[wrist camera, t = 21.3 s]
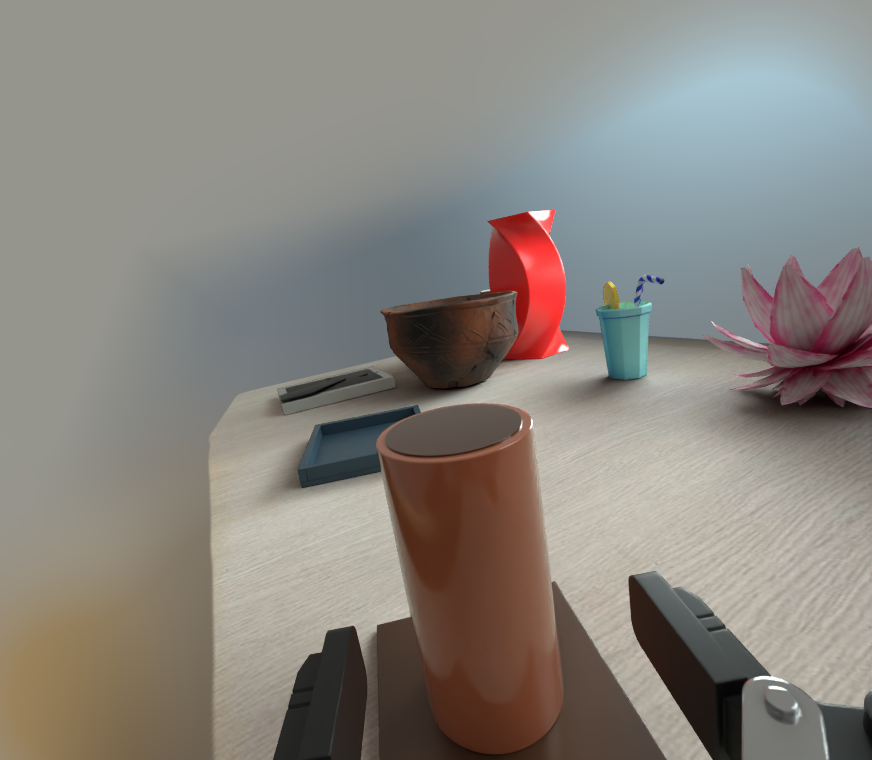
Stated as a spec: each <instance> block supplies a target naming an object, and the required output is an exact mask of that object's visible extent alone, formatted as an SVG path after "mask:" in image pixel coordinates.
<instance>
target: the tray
mask: <svg viewBox="0 0 872 760" xmlns="http://www.w3.org/2000/svg"><path fill="white" fill-rule="evenodd" d="M418 413H421V411H420V409H419V406H418V405H415V406H410V407H405V408H400V409H394V410H389V411H384V412H379V413H374V414H369V415H364V416H359V417H354V418H349V419H344V420H338V421H333V422H328V423H323V424H318V425H315V427H314V430H313V432H312V435H311V437H310V440H309V442H308V445H307V448H306V450H305V453H304V455H303V458H302V460H301V463H300V465H299V468H298V474H299V478H300V482H301V486H302V488H303V487H308V486H313V485H317V484H322V483H327V482H332V481H336V480H341V479H346V478H351V477H355V476H360V475H365V474H370V473H374V472H379V471H381V469H380V464H379V459H378V454H377V450H376V441H377V439H378V437H379V435H380V434H381V433H382V432H383V431H384V430H385V429H387V428H388V427H390V426H391V425H393V424H395V423H397V422H399V421H401V420H403V419H405V418H408V417H410V416H413V415H416V414H418Z"/></svg>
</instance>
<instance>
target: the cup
mask: <svg viewBox="0 0 872 760" xmlns="http://www.w3.org/2000/svg"><path fill="white" fill-rule="evenodd" d="M645 281H646V282H652V283H656V284H663V283H664V279H663V278H659V277H653V276H649V275H644V276H642V277H641V278H640V280H639V281H638V284H637V289H636V295H635V299H634V302H625V303H619V297H618V293H617V290H616V287H615V286H614V285H613V284H612V283H611V282H607V283H606V284H605V286H604V287H603V299H604V303H605V306H602V307H599V308H597V309H596V313H597V316H599V320H600V326H601V332H602V338H603V344H604V350H605V356H606V361H607V367H608V373H609V376H610V377H611V378H612V379H622V380H628V379H636V378H641V377H642V376H644V375H646V371H647V351H648V331H649V312H650V311H651V310H652V304H651V303H649V302H644V301H642V302H640V301H641V297H642V291H643V287H644V283H645Z"/></svg>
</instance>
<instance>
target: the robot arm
mask: <svg viewBox="0 0 872 760" xmlns="http://www.w3.org/2000/svg"><path fill="white" fill-rule="evenodd" d="M629 595H630V609H631V621H632V626H633V629H634V633H635V635H636V638H637V640H638V642H639V644H640V646H641V647H642V649H643V650H644V652H645V654H646V655H647V657H648V658H649V660H650V661H651V663H652V665H653V666H654V668H655V669H656V671H657V672H658V674H659V676H660V677H661V679H662V680H663V682H664V684H665V685H666V687H667V688H668V690H669V691H670V693H671V695H672V696H673V698H674V699H675V701H676V702H677V704H678V706H679V707H680V709H681V710H682V712H683V714H684V715H685V717H686V718H687V720H688V721H689V723H690V725H691V726H692V728H693V729H694V731H695V732H696V734H697V736H698V737H699V739H700V740H701V742H702V743H703V745H704V747H705V748H706V750H707V751H708V753H709V755H710V756H711V758H712V759H713V760H872V691H871V692H869V693H868V694H867V695H866V697H865V700H864V708H862V707H853V706H844V705H836V704H827V703H821V702H817V701H814V700H813V699H812V698H811V697H810V696H809V695H808V694H807V693H805V692H804V691H803V690H801V689H800V688H798V687H797V686H795V685H793V684H791V683H789V682H787V681H784V680H781V679H778V678H774V677H772V676H771V675H770V674H769V673H768V672H767V671H766V670H765V668H764V667H763V666H762V665H761V664H760V663H759V662H758V661H757V660H756V659H755V658H754V656H753V655H752V654H751V653H750V652H749V651H748V650H747V649H746V648H745V647H744V646H743V644H742V643H741V642H740V641H739V640H738V639H737V638H736V637H735V636H734V635H733V634H732V632H731V631H730V630H729V629H726V627H725V625H724V624H723V623H722V622H721V620H720V619H719V618H718V617H717V616H715V615H714V613H713V612H712V611H711V610H710V608H709V607H708V606H707V605H706V604H705V603H704V602H703V601H702V600H701V599H700V598H699V597H697V596H696V595H694V594H692V593H691V592H689V591H687V590H686V589H684V588H683V587H677V588H671V587H670V585H669V584H668V583H667V582H666V581H665V580H664V578H663V577H662V576H661V575H660V574H659V573H658V572H656V571H653V572H647V573H642V574H637V575H631V576H630V577H629ZM366 701H367V675H366V669H365V665H364V660H363V656H362V652H361V648H360V644H359V640H358V636H357V632H356V629H355V627H354V626H350V627H344V628H339V629H334V630H329V631H327V633H326V637H325V641H324V646H323V650H322V652H321V653H316V654H311V655H309V657H308V658H307V660H306V661H305V662H304V664H303V665H302V667H301V668H300V670H299V671H298V673H297V677H296V681H295V684H294V688H293V694H292V695H291V698H290V702H289V705H288V710H287V712H286V716H285V719H284V723H283V726H282V730H281V733H280V737H279V740H278V744H277V747H276V751H275V755H274V758H273V760H361V750H362V740H363V730H364V720H365V711H366Z"/></svg>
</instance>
